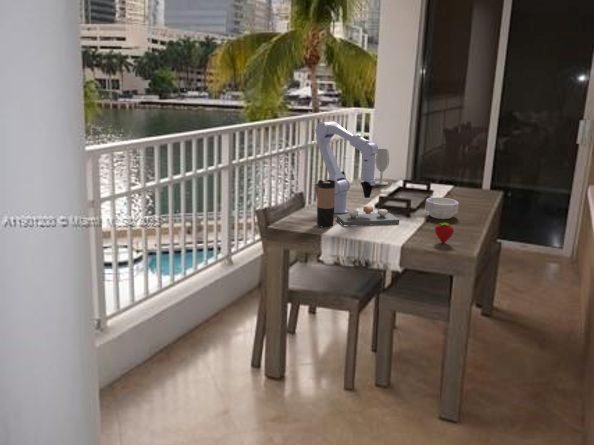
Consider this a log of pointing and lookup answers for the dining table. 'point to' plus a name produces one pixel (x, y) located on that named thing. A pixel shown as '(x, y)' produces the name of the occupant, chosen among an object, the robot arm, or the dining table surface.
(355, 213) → the inner button
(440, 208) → the paper bowls
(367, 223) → the grey flat board
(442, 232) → the strawberry
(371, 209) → the middle button
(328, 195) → the travel mug
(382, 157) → the wineglass
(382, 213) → the outer button
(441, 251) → the dining table surface
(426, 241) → the dining table surface
